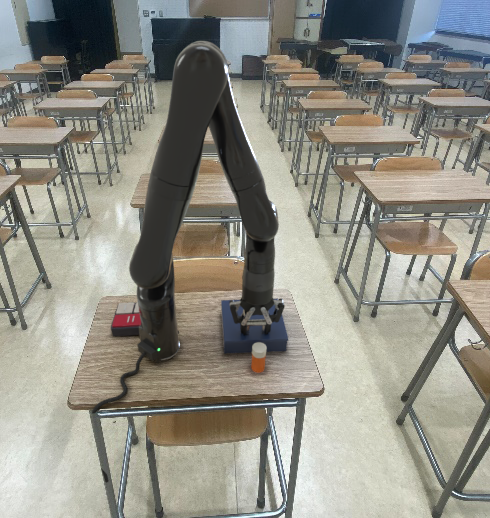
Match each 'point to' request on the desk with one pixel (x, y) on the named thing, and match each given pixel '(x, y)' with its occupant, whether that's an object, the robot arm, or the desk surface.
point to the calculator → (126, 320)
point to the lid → (251, 327)
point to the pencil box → (247, 346)
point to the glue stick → (258, 357)
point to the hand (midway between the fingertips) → (255, 332)
